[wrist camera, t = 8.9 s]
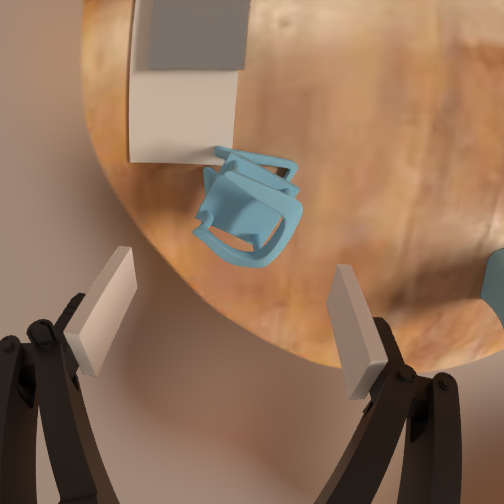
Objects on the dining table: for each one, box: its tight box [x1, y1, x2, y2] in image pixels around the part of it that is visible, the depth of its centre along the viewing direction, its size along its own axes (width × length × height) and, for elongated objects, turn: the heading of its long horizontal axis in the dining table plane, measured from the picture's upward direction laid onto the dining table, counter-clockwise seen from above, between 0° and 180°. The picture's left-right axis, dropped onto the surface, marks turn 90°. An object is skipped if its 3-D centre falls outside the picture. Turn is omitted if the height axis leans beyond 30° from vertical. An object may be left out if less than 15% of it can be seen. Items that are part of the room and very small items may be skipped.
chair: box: [193, 146, 303, 268], centre depth 26 cm, size 8×8×12 cm
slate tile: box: [148, 0, 251, 70], centre depth 22 cm, size 10×2×9 cm
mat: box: [129, 0, 238, 166], centre depth 25 cm, size 22×11×1 cm, turn 175°
